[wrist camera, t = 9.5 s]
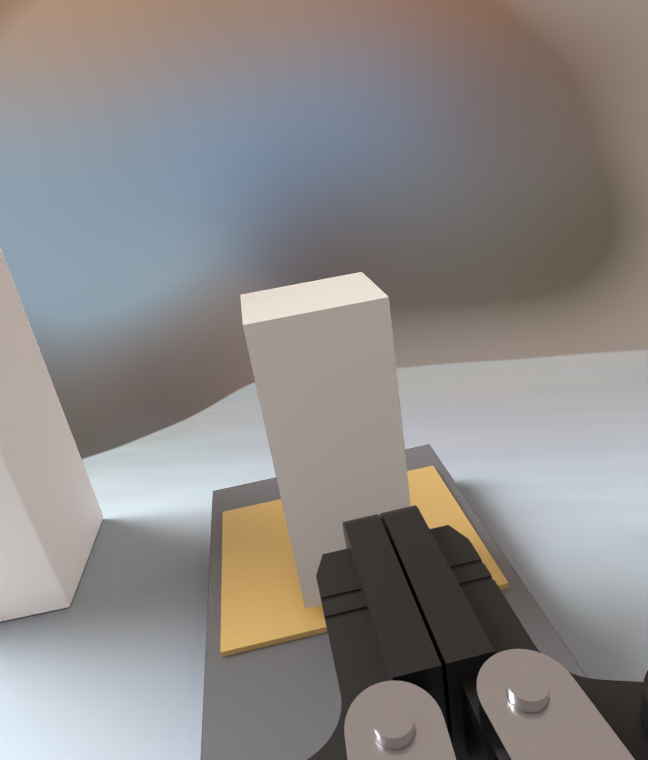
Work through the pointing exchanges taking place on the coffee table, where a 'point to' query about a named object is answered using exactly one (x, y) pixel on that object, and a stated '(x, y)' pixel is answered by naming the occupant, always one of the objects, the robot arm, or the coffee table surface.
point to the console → (307, 619)
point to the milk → (37, 477)
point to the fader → (328, 409)
